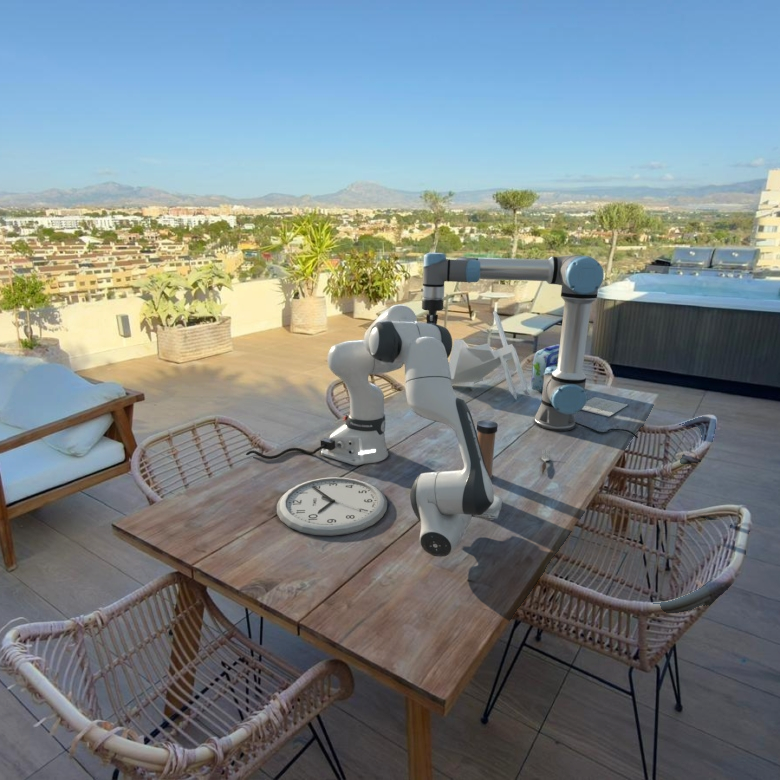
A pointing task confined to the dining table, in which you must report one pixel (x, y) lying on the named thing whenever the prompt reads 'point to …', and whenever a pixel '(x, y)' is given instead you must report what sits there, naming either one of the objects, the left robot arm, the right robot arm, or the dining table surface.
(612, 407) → the invitation card
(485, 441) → the tan rounded cylinder
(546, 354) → the lunch box
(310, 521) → the wall clock
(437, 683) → the dining table surface
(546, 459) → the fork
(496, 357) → the white plastic object
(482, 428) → the lid
